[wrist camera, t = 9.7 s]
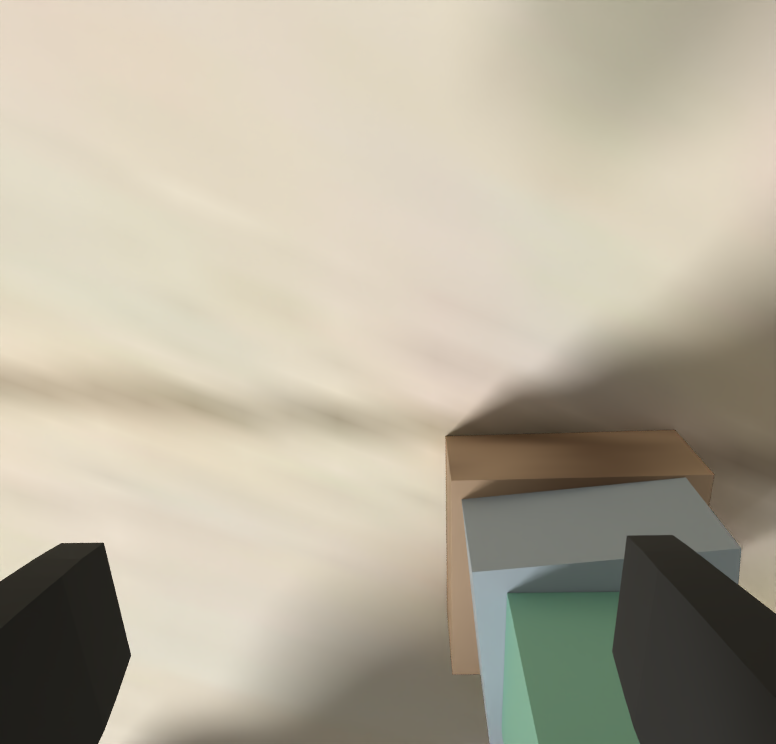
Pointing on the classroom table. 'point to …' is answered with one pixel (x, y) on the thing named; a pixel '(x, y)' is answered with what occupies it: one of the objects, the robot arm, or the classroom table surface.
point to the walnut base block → (544, 473)
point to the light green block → (563, 671)
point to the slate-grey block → (571, 552)
